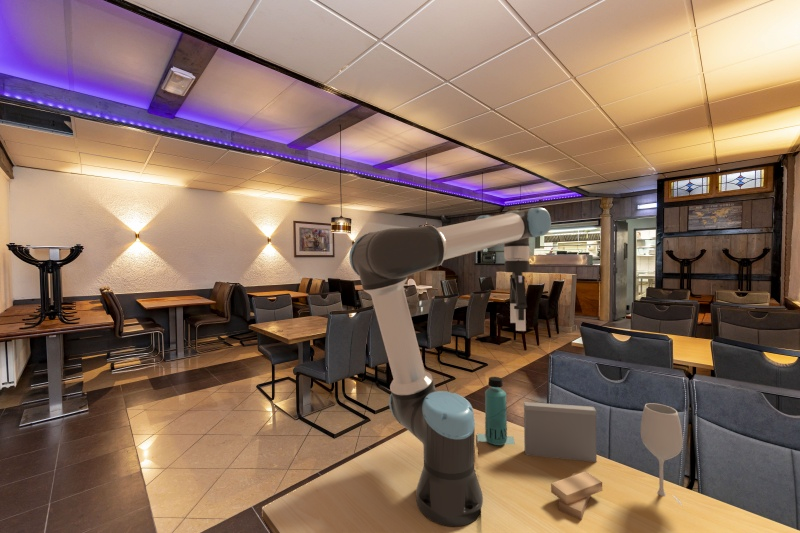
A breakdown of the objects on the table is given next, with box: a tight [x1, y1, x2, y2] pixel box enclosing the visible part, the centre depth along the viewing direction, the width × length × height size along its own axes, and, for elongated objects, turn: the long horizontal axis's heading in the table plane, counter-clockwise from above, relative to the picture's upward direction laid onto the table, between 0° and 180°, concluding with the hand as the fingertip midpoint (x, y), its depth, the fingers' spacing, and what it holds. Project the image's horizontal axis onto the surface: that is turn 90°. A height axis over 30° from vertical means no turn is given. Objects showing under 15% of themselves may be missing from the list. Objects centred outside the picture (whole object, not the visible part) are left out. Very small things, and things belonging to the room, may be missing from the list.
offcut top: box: [550, 471, 603, 504], centre depth 74 cm, size 11×4×2 cm, turn 112°
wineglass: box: [640, 402, 684, 507], centre depth 76 cm, size 8×8×21 cm
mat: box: [476, 433, 516, 455], centre depth 99 cm, size 11×11×1 cm
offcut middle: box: [558, 472, 592, 521], centre depth 75 cm, size 13×4×2 cm, turn 139°
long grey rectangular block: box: [523, 401, 598, 463], centre depth 91 cm, size 18×2×15 cm, turn 78°
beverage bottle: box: [484, 376, 508, 446], centre depth 99 cm, size 6×7×20 cm
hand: (517, 326), depth 105 cm, fingers open, 13 cm apart
